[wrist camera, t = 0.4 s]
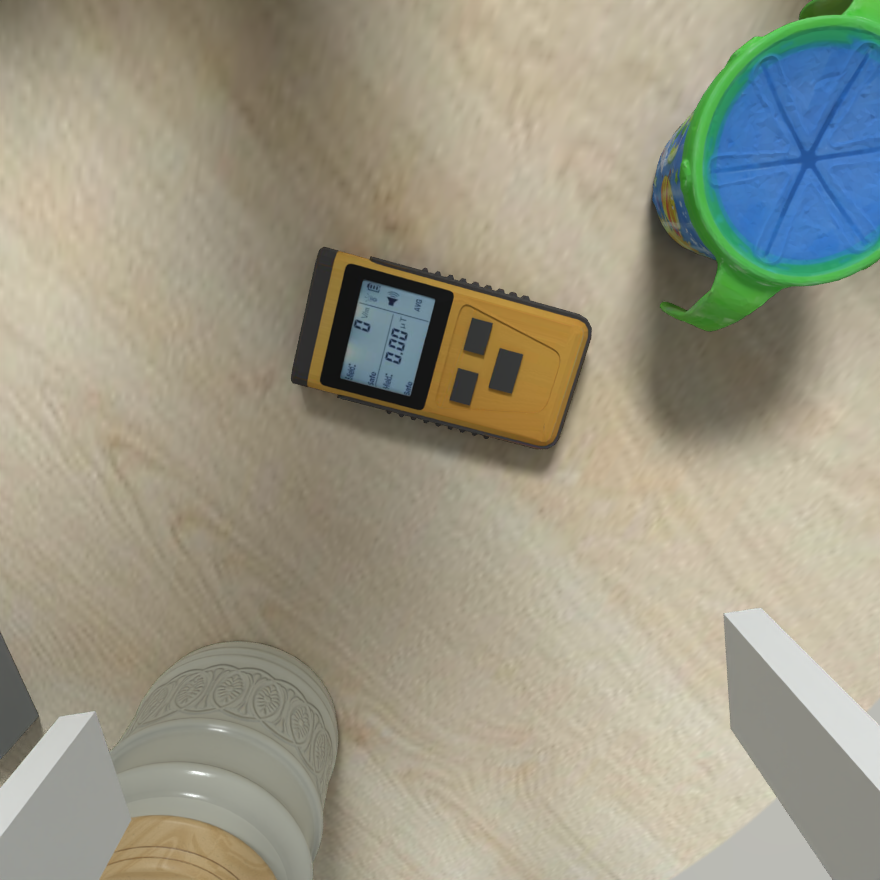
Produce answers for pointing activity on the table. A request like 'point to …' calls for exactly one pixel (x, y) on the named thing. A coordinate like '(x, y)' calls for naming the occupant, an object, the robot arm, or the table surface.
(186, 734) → the jar
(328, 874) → the table surface
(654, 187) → the snack cup
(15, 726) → the switch unit
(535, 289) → the table surface
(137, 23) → the table surface
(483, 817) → the table surface
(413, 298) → the electronic device
